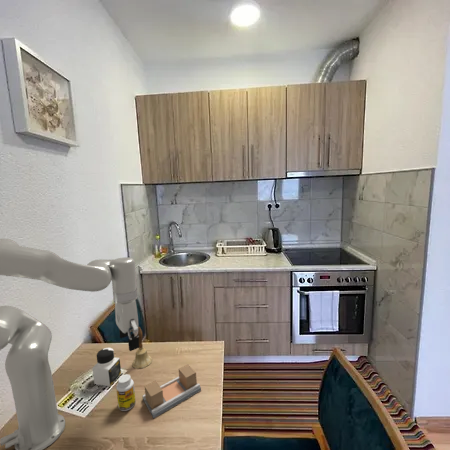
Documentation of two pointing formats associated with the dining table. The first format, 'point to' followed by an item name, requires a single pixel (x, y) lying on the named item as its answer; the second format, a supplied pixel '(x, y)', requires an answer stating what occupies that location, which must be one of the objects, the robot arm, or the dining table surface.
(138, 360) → the hand bell
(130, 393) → the supplement bottle
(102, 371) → the medicine bottle
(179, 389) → the rail
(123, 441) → the dining table surface
